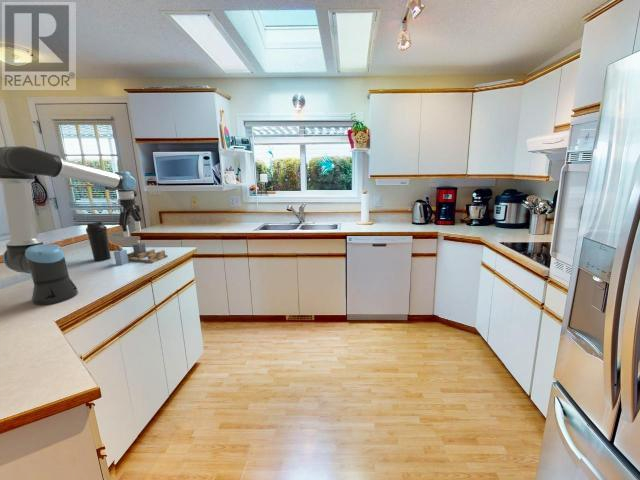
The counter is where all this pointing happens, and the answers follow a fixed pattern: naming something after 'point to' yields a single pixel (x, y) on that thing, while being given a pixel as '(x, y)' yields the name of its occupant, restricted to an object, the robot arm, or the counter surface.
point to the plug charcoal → (139, 248)
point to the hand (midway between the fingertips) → (132, 234)
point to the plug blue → (121, 256)
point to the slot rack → (147, 256)
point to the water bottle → (98, 241)
